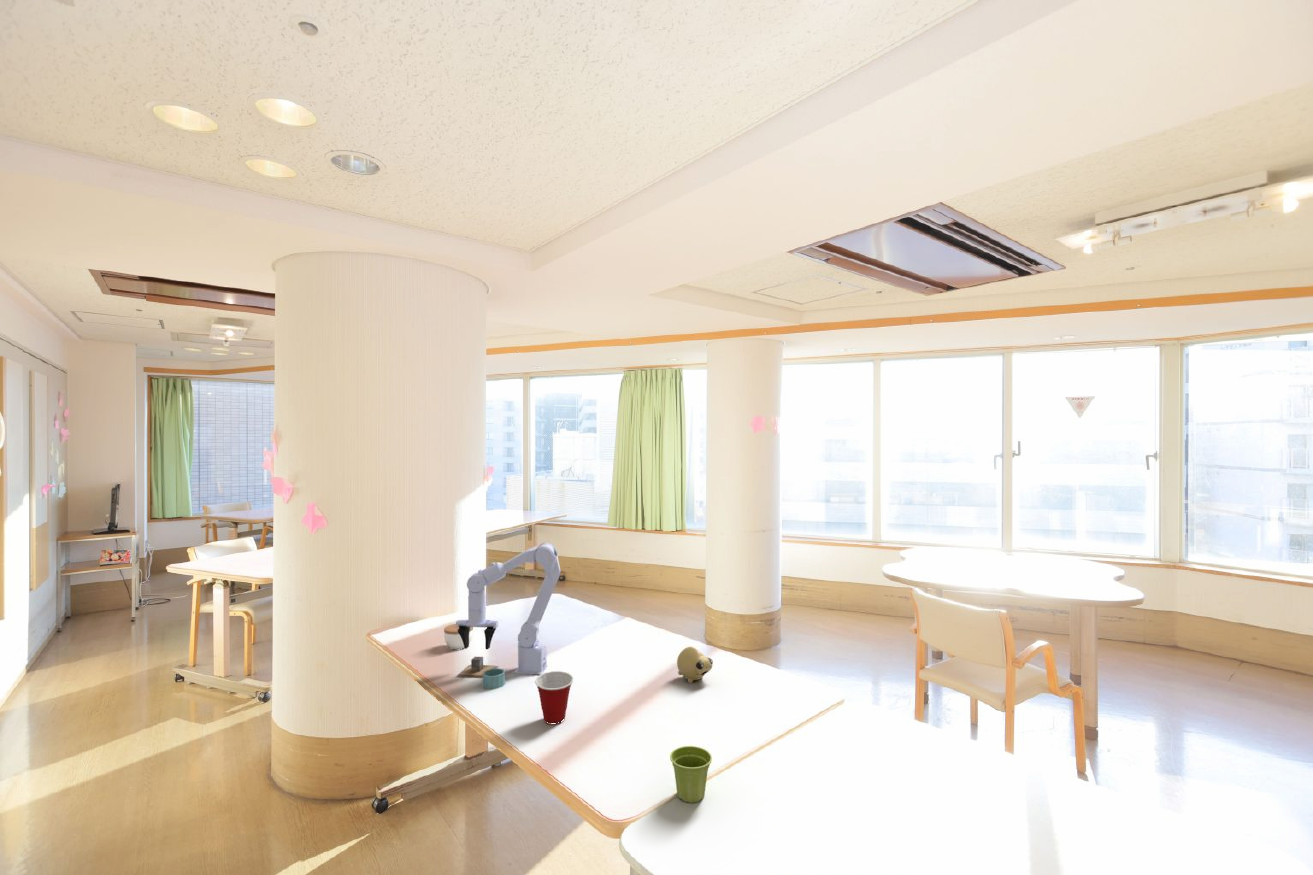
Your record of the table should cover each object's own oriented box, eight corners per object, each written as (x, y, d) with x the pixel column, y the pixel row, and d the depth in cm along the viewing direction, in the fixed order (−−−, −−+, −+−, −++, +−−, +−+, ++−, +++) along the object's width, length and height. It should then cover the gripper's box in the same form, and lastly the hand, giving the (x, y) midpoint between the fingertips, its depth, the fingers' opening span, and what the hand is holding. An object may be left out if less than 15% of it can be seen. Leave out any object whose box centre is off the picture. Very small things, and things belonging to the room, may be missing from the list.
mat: (498, 667, 212) (498, 666, 212) (486, 679, 202) (486, 678, 202) (469, 665, 214) (469, 665, 214) (454, 677, 203) (454, 677, 203)
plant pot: (709, 782, 140) (709, 745, 140) (714, 807, 130) (714, 767, 130) (669, 783, 139) (668, 746, 139) (671, 808, 130) (671, 768, 130)
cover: (494, 667, 212) (494, 654, 212) (484, 677, 203) (484, 663, 203) (470, 666, 213) (470, 653, 213) (459, 676, 204) (459, 662, 204)
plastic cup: (536, 731, 165) (536, 687, 165) (533, 714, 175) (533, 673, 175) (576, 726, 168) (576, 683, 168) (571, 709, 178) (571, 669, 178)
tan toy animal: (697, 689, 192) (697, 656, 192) (671, 679, 201) (671, 647, 201) (718, 681, 199) (717, 648, 199) (691, 671, 207) (691, 640, 207)
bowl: (508, 681, 200) (508, 668, 200) (500, 690, 193) (500, 676, 193) (487, 680, 200) (487, 667, 200) (479, 689, 193) (479, 676, 193)
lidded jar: (477, 642, 238) (477, 619, 238) (466, 652, 228) (466, 627, 228) (451, 642, 239) (451, 618, 240) (439, 651, 229) (439, 626, 229)
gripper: (501, 606, 211) (501, 644, 211) (462, 604, 213) (462, 643, 213) (493, 611, 204) (493, 651, 204) (452, 610, 206) (453, 650, 206)
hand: (477, 648), depth 208 cm, fingers open, 7 cm apart
